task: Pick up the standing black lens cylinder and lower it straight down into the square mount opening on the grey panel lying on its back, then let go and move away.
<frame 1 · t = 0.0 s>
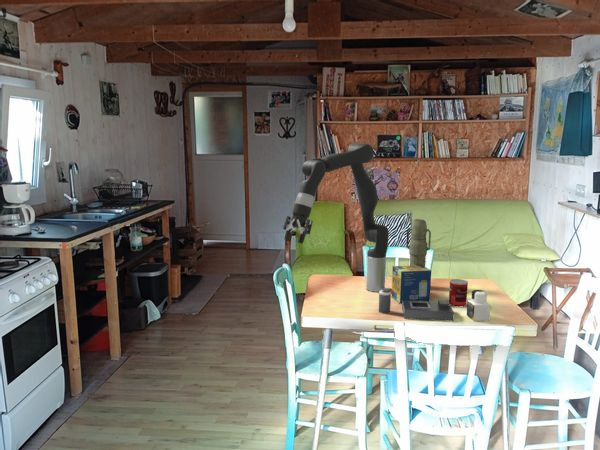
hand: (293, 241, 217), 31 cm above the table, tool tilted 20°, fingers open, 8 cm apart
canned food: (457, 304, 238), on the table
protein box: (410, 300, 244), on the table
lens: (384, 311, 226), on the table
grey panel: (426, 314, 223), on the table
thermos: (416, 287, 266), on the table
medicine bottle: (477, 318, 219), on the table
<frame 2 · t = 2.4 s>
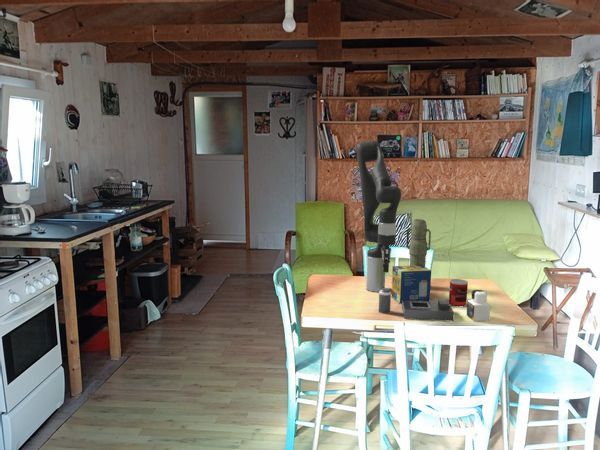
hand: (385, 269, 223), 19 cm above the table, tool pointing down, fingers open, 8 cm apart
nothing on the table moved.
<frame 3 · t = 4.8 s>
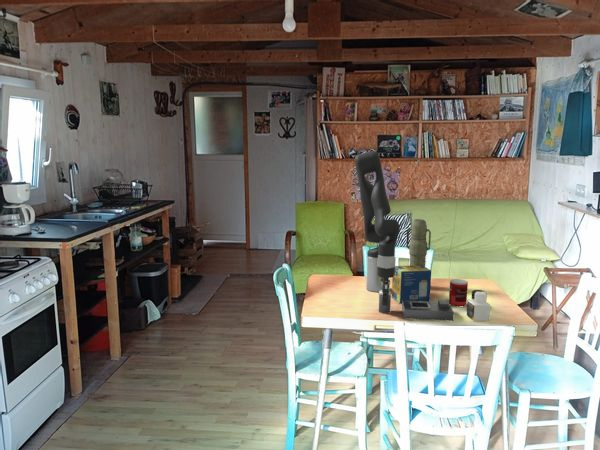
hand: (384, 303, 225), 4 cm above the table, tool pointing down, fingers closed on lens, 5 cm apart
lens: (384, 311, 226), on the table, touching gripper
everything else where it was.
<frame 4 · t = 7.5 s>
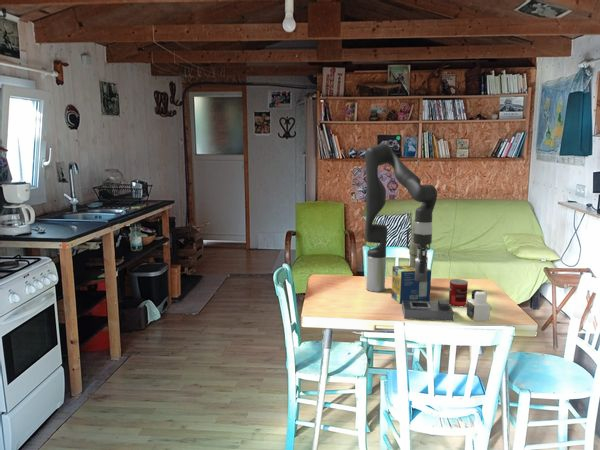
hand: (421, 271, 220), 19 cm above the table, tool pointing down, fingers closed on lens, 5 cm apart
lens: (420, 280, 221), point 15 cm above the table, touching gripper
everything else where it was.
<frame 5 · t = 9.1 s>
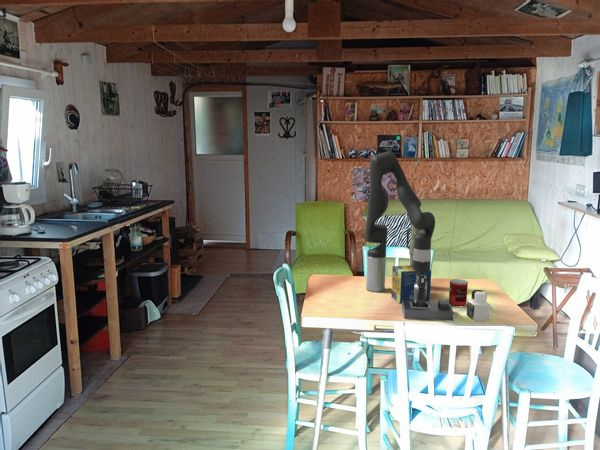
hand: (419, 297, 222), 7 cm above the table, tool pointing down, fingers closed on lens, 5 cm apart
lens: (419, 306, 223), point 4 cm above the table, touching gripper
everything else where it was.
when the fingers open (5 cm above the table, at t = 10.3 s): lens drops 1 cm, resting in grey panel.
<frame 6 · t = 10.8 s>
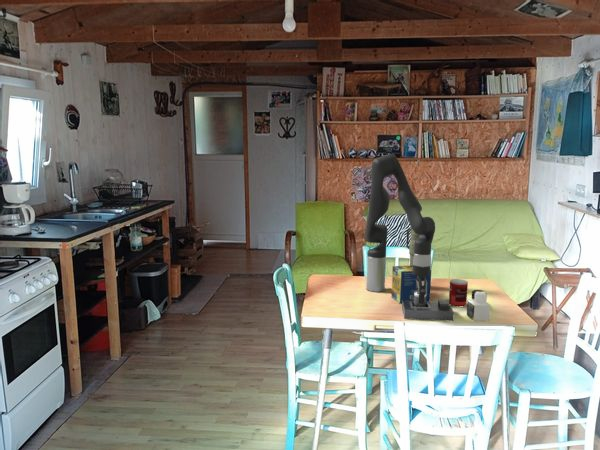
hand: (420, 300, 222), 6 cm above the table, tool pointing down, fingers open, 8 cm apart
lens: (419, 314, 223), resting in grey panel
everything else where it was.
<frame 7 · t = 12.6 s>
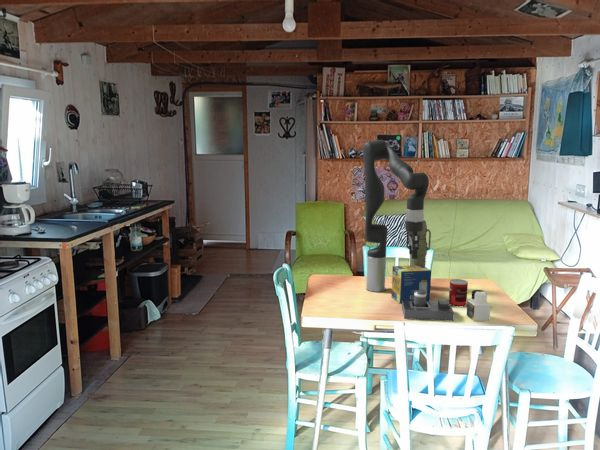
hand: (413, 256, 224), 25 cm above the table, tool pointing down, fingers open, 8 cm apart
nothing on the table moved.
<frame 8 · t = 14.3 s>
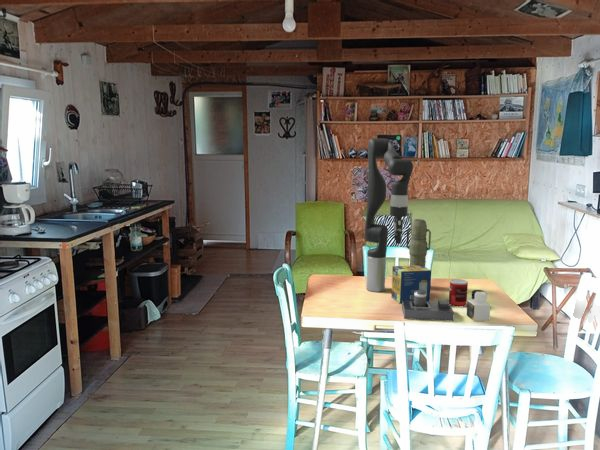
hand: (397, 241, 228), 30 cm above the table, tool pointing down, fingers open, 8 cm apart
nothing on the table moved.
at the end: lens 0.2 cm from the target spot on the grey panel, point 0.0 cm above the grey panel's base; lens tilted 0°; the gripper is holding nothing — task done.
